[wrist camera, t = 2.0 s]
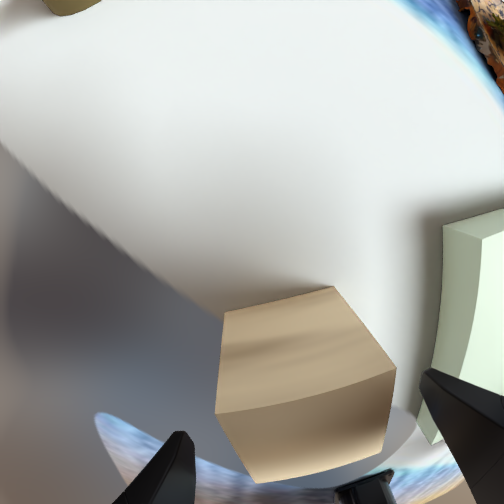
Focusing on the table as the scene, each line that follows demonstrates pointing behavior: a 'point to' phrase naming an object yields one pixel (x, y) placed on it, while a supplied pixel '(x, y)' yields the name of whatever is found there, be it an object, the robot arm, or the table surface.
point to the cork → (68, 6)
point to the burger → (487, 31)
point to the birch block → (302, 386)
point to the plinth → (470, 308)
